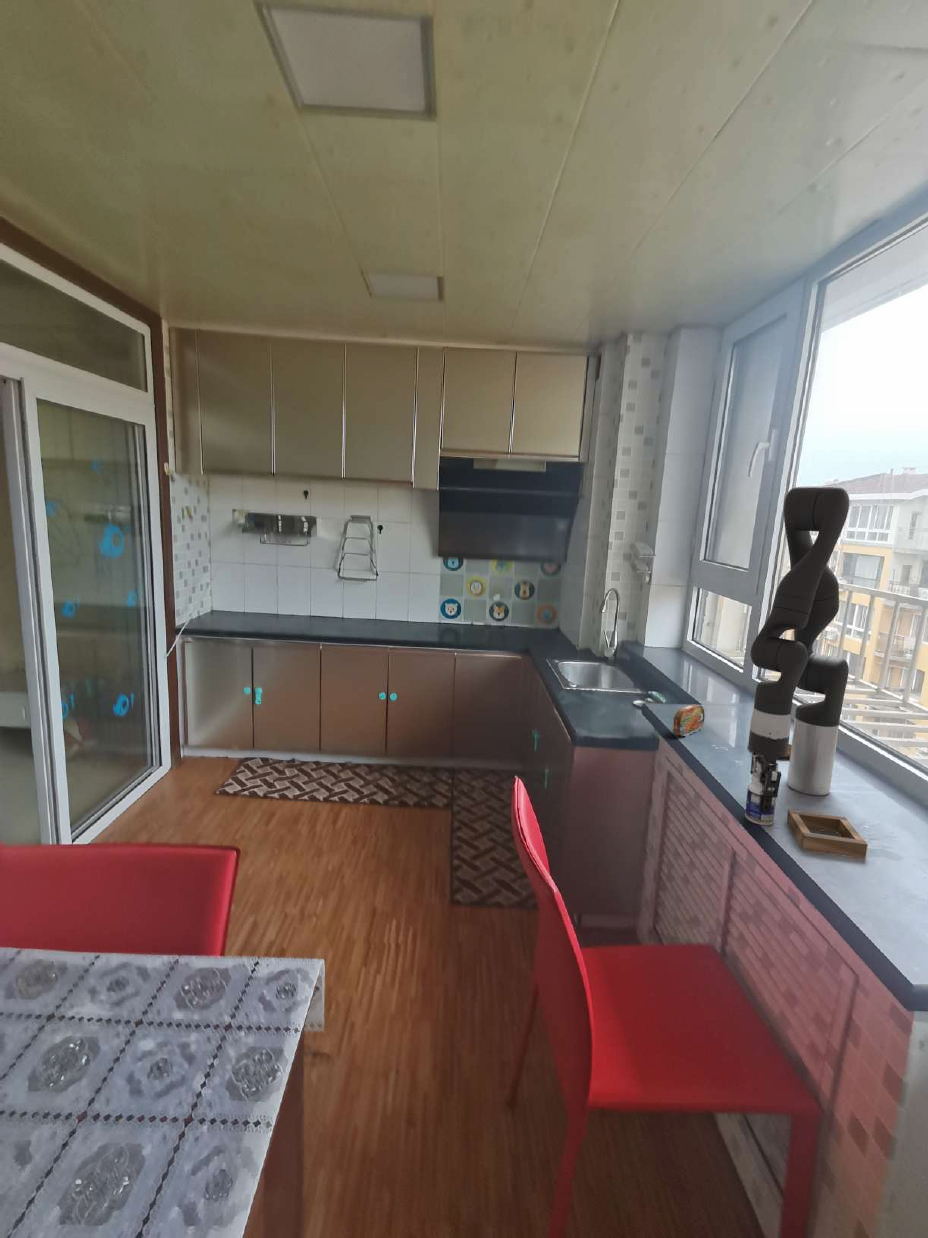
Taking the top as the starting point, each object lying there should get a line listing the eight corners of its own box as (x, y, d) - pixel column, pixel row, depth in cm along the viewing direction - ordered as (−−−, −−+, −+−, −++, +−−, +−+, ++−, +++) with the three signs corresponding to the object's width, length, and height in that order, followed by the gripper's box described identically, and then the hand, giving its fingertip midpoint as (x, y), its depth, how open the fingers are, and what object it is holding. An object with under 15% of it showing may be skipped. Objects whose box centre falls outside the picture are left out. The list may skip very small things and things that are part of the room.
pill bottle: (748, 810, 133) (753, 768, 131) (776, 819, 129) (781, 776, 127) (741, 820, 128) (746, 776, 127) (770, 829, 125) (775, 784, 123)
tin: (679, 740, 175) (682, 712, 174) (670, 737, 178) (672, 710, 176) (704, 729, 185) (707, 703, 184) (694, 726, 187) (697, 701, 186)
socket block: (786, 823, 127) (788, 810, 127) (843, 830, 125) (845, 817, 124) (803, 850, 117) (805, 836, 116) (865, 858, 114) (867, 844, 114)
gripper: (742, 718, 133) (735, 788, 136) (759, 740, 119) (749, 818, 122) (779, 721, 131) (770, 792, 134) (799, 744, 117) (789, 823, 120)
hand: (760, 804), depth 128 cm, fingers closed on pill bottle, 5 cm apart
